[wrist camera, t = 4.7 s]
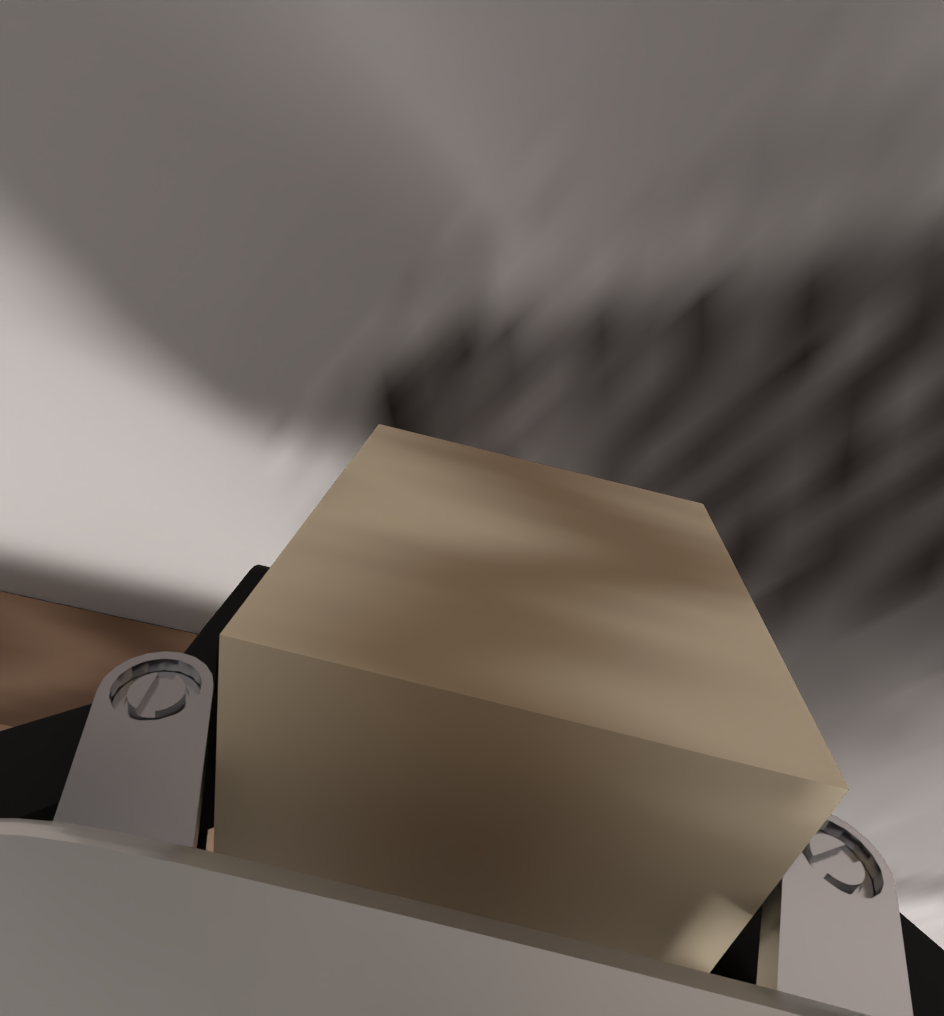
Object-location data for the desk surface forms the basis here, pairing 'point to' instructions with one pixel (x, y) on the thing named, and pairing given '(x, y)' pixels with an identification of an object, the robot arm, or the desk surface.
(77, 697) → the base
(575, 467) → the desk surface
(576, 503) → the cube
